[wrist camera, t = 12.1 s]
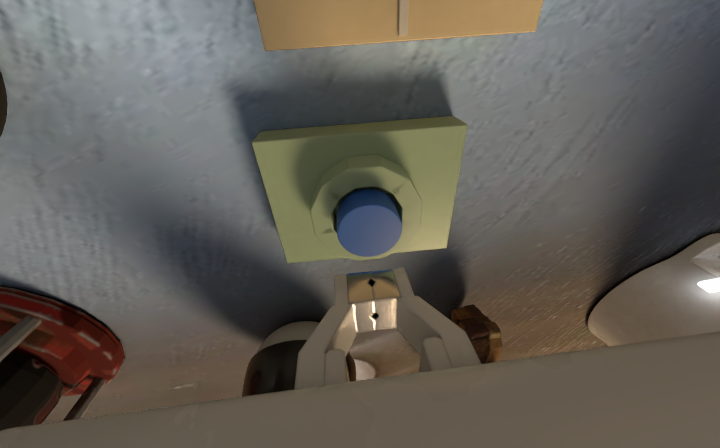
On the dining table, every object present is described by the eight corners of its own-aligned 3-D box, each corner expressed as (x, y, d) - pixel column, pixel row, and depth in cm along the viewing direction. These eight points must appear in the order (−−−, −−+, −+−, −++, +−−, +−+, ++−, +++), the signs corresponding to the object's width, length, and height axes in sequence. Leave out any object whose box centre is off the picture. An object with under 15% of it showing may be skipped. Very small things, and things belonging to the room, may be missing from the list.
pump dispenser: (328, 292, 24) (321, 549, 12) (366, 346, 30) (388, 559, 18) (235, 322, 26) (142, 580, 13) (288, 368, 32) (257, 579, 19)
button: (396, 185, 15) (403, 201, 13) (395, 236, 17) (401, 254, 15) (333, 191, 15) (333, 207, 13) (340, 241, 17) (340, 260, 15)
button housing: (453, 115, 16) (483, 132, 13) (437, 231, 21) (456, 265, 18) (260, 131, 16) (240, 153, 13) (291, 244, 21) (282, 281, 18)
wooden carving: (432, 291, 26) (478, 408, 17) (478, 285, 26) (546, 398, 17) (426, 373, 35) (453, 474, 27) (459, 368, 35) (498, 467, 27)
